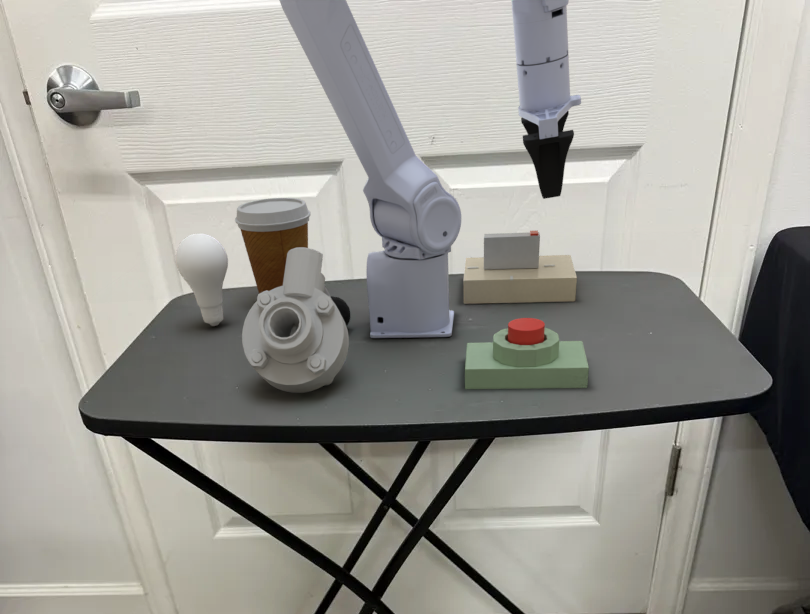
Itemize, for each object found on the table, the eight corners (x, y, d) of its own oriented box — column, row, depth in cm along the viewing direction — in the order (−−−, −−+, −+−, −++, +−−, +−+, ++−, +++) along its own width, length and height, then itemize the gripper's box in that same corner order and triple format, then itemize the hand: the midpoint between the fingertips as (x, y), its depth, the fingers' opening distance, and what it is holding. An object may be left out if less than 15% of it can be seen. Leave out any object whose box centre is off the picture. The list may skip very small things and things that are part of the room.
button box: (465, 389, 77) (464, 351, 75) (467, 362, 83) (466, 326, 81) (587, 388, 76) (590, 349, 74) (580, 360, 82) (583, 323, 79)
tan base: (463, 305, 98) (463, 280, 96) (466, 278, 107) (465, 255, 105) (575, 303, 96) (577, 277, 95) (568, 276, 105) (570, 252, 104)
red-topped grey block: (483, 269, 100) (483, 235, 97) (483, 265, 101) (484, 231, 99) (538, 268, 99) (540, 233, 96) (537, 264, 100) (539, 230, 98)
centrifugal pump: (364, 429, 92) (380, 307, 93) (330, 380, 72) (350, 227, 74) (280, 421, 93) (297, 301, 94) (224, 370, 74) (246, 220, 75)
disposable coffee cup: (261, 289, 108) (246, 197, 101) (327, 289, 107) (317, 195, 100) (239, 312, 100) (222, 215, 93) (311, 312, 99) (298, 213, 92)
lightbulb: (249, 323, 97) (233, 231, 91) (208, 337, 93) (189, 243, 87) (220, 313, 100) (203, 225, 94) (180, 327, 97) (159, 236, 91)
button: (507, 348, 76) (508, 330, 75) (507, 334, 79) (507, 318, 78) (544, 347, 76) (545, 330, 75) (543, 334, 79) (543, 317, 78)
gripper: (584, 64, 79) (588, 200, 88) (574, 39, 90) (578, 163, 99) (515, 78, 81) (526, 210, 89) (513, 51, 91) (523, 172, 100)
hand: (549, 186), depth 94 cm, fingers open, 7 cm apart
